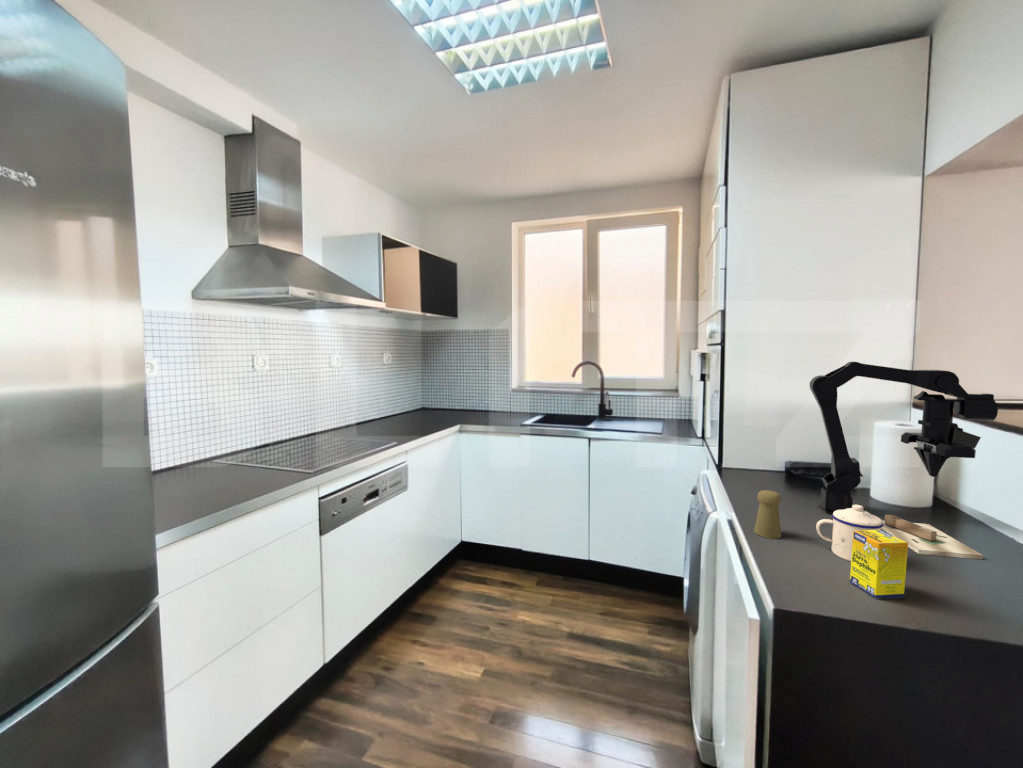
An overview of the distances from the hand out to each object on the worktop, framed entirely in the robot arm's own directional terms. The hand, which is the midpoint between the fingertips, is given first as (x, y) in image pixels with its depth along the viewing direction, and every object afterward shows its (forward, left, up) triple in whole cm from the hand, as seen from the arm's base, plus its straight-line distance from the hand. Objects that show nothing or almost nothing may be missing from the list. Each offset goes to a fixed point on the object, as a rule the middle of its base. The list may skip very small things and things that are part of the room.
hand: (933, 476), depth 117 cm
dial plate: (-8, -12, -13) cm, 19 cm away
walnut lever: (-10, -11, -12) cm, 19 cm away
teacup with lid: (-30, -25, -13) cm, 41 cm away
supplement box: (-32, -41, -13) cm, 54 cm away
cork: (-44, -17, -13) cm, 49 cm away
